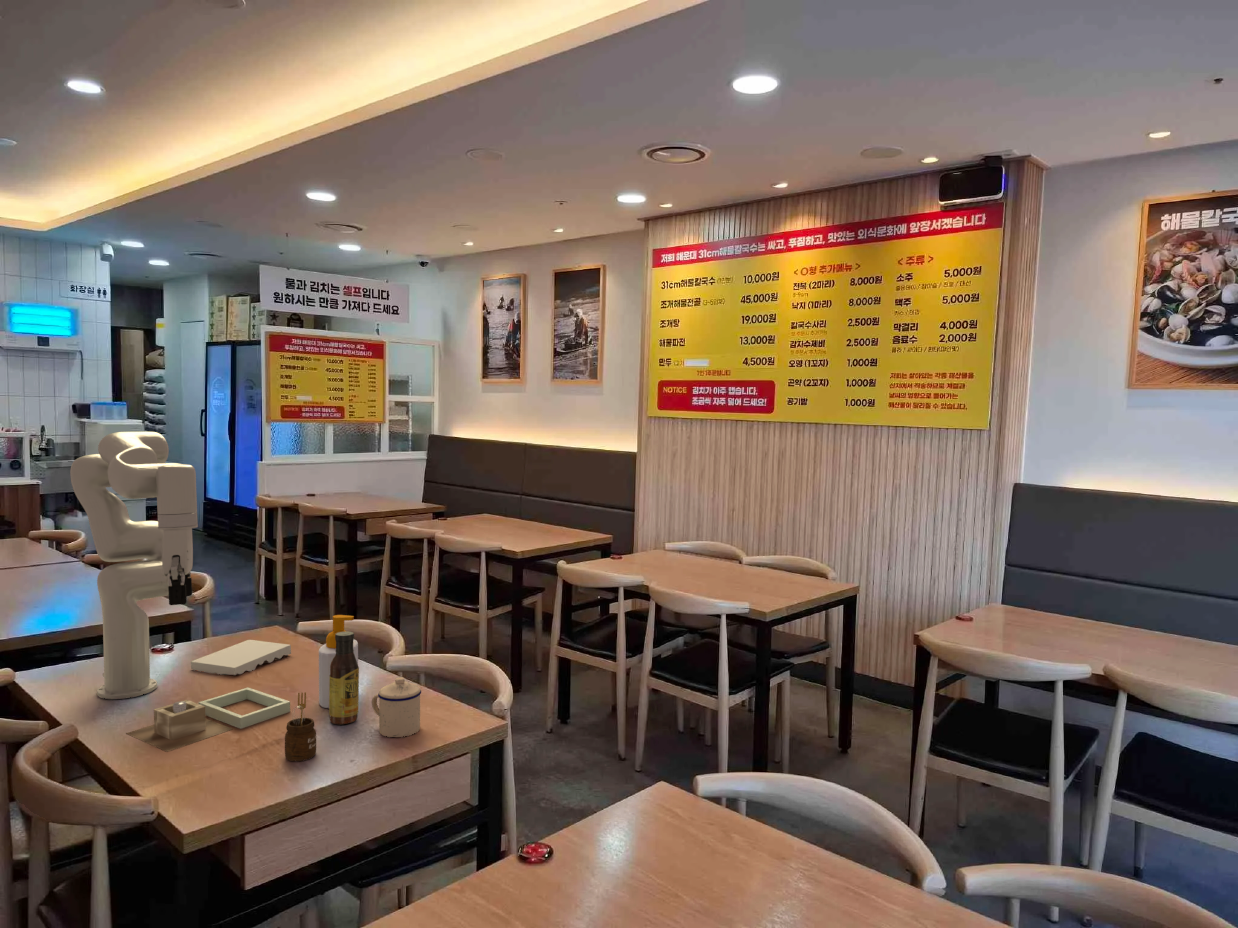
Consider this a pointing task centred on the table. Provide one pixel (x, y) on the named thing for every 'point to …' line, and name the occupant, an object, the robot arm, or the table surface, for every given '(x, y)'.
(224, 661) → the cream wavy-edged slab
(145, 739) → the stake board
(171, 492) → the robot arm
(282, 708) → the tray
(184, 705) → the cylinder
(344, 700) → the sauce bottle
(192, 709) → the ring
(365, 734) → the table surface
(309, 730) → the utensil holder
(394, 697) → the teacup with lid
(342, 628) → the soap bottle
